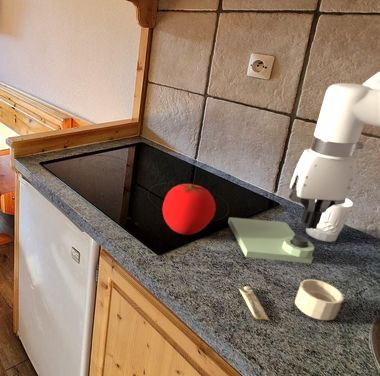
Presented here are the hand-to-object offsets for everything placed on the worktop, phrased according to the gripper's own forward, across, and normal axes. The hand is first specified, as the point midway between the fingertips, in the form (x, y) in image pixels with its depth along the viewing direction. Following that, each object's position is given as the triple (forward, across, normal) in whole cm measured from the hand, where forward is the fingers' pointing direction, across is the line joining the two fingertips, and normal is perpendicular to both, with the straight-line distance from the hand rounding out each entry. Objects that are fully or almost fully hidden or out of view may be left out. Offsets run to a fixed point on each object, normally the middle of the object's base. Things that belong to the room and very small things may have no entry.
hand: (308, 225), depth 89 cm
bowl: (+8, +4, +18) cm, 21 cm away
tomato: (+8, +24, -8) cm, 27 cm away
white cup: (+9, -10, -12) cm, 17 cm away
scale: (+8, +5, -6) cm, 11 cm away
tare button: (+5, +1, 0) cm, 5 cm away
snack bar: (+8, +16, +19) cm, 26 cm away
